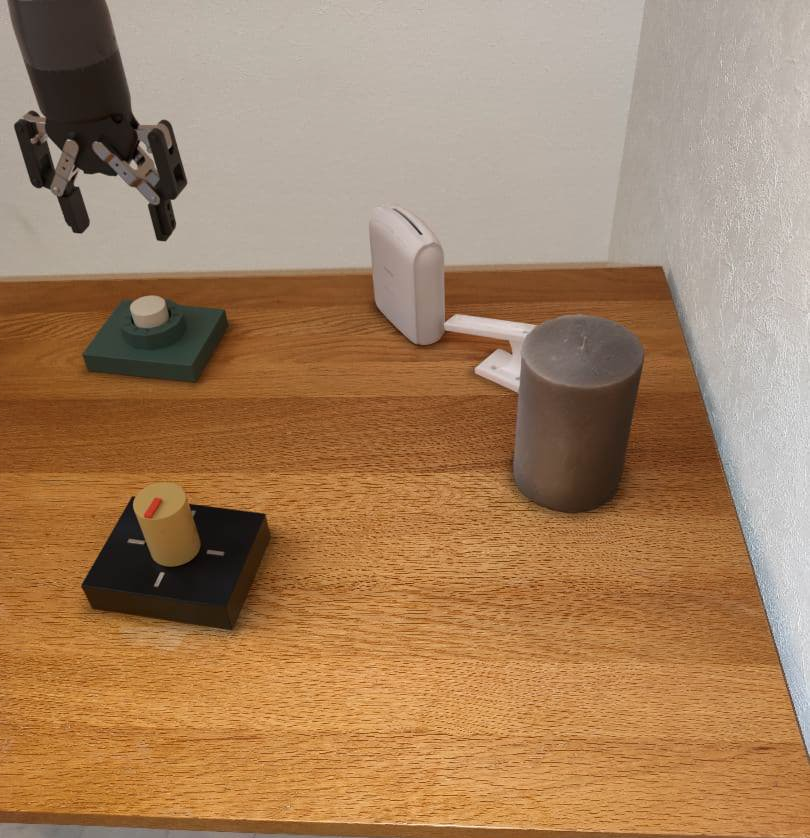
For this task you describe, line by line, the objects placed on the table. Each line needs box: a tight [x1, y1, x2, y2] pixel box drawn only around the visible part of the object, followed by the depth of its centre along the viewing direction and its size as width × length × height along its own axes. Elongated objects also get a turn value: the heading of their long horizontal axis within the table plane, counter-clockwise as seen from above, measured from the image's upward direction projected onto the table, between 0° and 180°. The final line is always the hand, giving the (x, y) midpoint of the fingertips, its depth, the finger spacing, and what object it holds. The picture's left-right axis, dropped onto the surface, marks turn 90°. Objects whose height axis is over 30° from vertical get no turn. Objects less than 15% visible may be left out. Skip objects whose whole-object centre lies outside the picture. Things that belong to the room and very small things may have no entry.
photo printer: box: [368, 202, 446, 346], centre depth 92 cm, size 10×4×12 cm, turn 30°
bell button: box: [130, 295, 169, 329], centre depth 92 cm, size 4×4×2 cm
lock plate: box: [80, 496, 271, 631], centre depth 73 cm, size 12×10×3 cm
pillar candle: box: [512, 313, 645, 513], centre depth 75 cm, size 10×10×15 cm
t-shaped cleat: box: [444, 313, 537, 394], centre depth 87 cm, size 4×20×5 cm, turn 51°
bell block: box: [81, 298, 229, 384], centre depth 94 cm, size 12×10×4 cm
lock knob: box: [133, 481, 201, 567], centre depth 70 cm, size 4×4×6 cm
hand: (123, 233), depth 84 cm, fingers open, 8 cm apart
